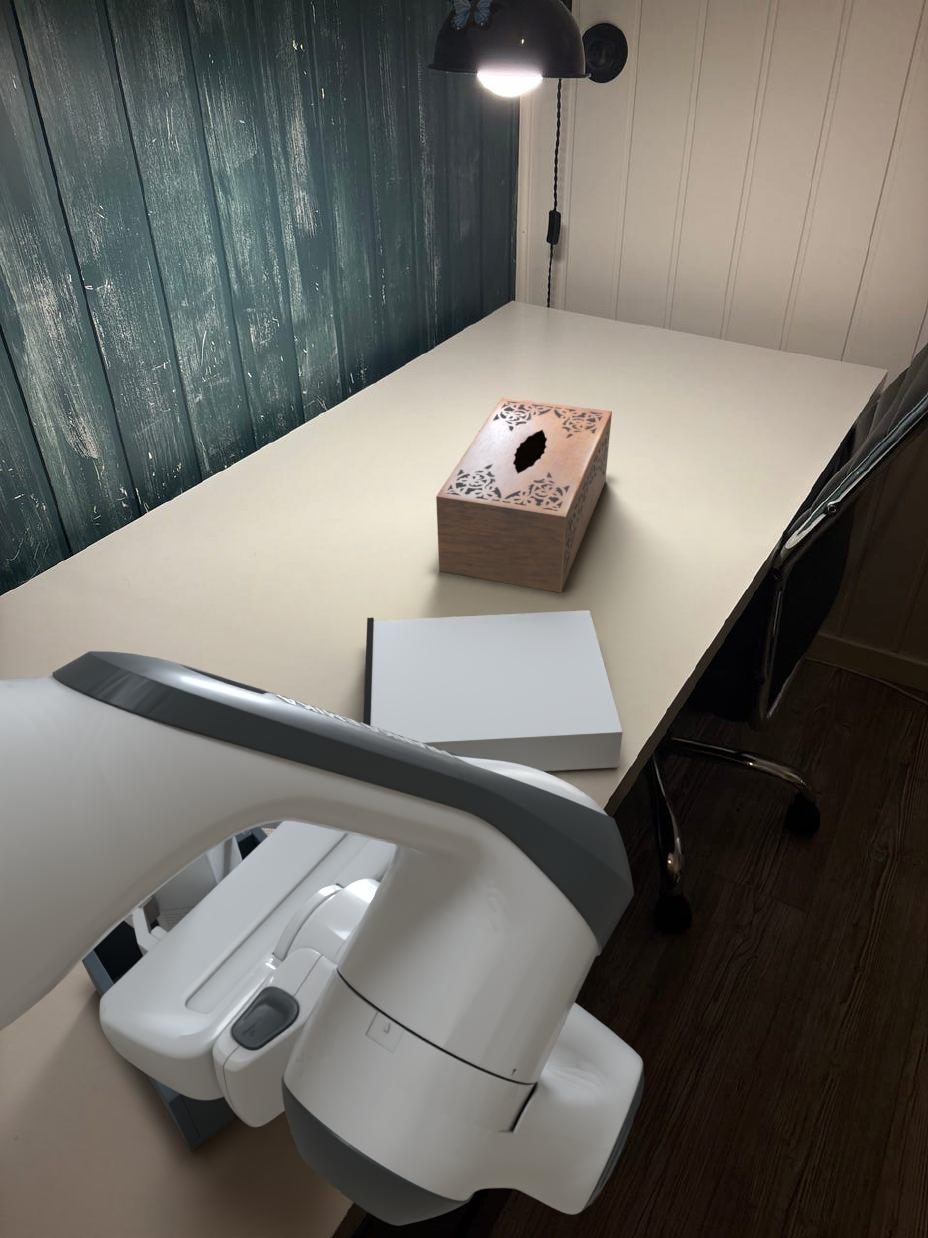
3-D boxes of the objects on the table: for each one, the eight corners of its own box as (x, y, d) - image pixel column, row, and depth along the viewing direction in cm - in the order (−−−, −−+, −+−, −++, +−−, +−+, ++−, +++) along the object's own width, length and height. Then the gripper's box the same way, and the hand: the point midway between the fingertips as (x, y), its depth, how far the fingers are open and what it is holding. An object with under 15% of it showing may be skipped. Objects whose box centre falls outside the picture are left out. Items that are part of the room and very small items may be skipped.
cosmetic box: (184, 884, 62) (141, 763, 54) (248, 878, 62) (214, 756, 55) (172, 967, 57) (123, 846, 50) (241, 959, 57) (203, 838, 50)
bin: (191, 1152, 58) (168, 1103, 53) (95, 988, 66) (68, 935, 62) (377, 1006, 65) (370, 953, 61) (269, 875, 74) (256, 821, 69)
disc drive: (369, 654, 95) (365, 617, 92) (586, 644, 95) (589, 606, 92) (365, 785, 81) (360, 746, 78) (618, 771, 82) (623, 732, 79)
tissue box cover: (501, 465, 125) (501, 397, 119) (605, 480, 122) (611, 411, 115) (439, 570, 106) (436, 496, 100) (560, 592, 103) (565, 516, 96)
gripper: (462, 803, 54) (290, 714, 61) (206, 1100, 41) (20, 946, 47) (464, 868, 58) (302, 778, 65) (231, 1158, 45) (56, 1009, 51)
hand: (180, 851), depth 56 cm, fingers closed on cosmetic box, 7 cm apart
